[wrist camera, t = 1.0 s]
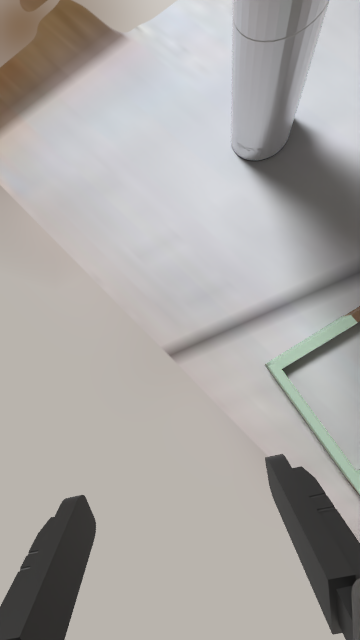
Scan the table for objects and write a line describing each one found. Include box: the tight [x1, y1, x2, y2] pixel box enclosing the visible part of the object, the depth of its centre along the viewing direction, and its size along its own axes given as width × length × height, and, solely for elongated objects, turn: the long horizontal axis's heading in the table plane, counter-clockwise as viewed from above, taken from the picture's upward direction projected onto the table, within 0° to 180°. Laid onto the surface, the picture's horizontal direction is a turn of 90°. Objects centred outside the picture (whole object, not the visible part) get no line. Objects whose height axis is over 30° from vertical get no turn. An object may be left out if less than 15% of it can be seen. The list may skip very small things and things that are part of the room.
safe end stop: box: [266, 315, 360, 495], centre depth 27 cm, size 13×18×3 cm
